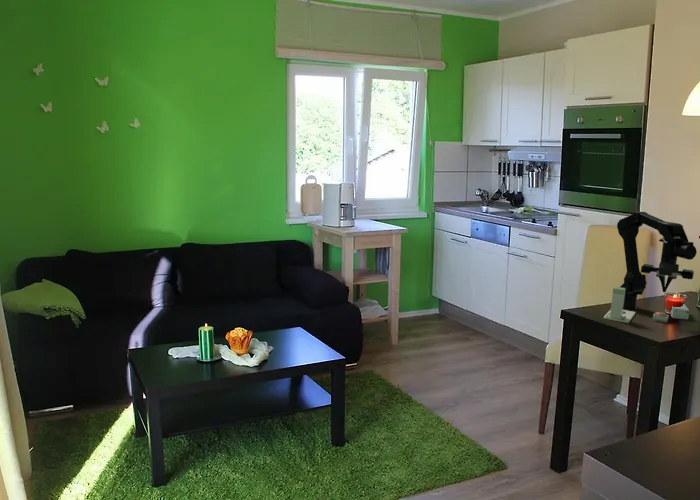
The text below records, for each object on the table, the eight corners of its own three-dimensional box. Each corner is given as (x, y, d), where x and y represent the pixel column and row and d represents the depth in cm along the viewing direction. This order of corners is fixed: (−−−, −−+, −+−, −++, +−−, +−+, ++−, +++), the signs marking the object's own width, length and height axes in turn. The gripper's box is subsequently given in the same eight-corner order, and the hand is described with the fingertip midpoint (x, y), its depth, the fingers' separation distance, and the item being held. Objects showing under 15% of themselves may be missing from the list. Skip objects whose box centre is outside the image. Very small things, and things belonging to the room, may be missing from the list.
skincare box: (667, 310, 268) (671, 318, 257) (668, 300, 268) (673, 308, 256) (682, 312, 267) (688, 320, 255) (684, 302, 266) (689, 310, 254)
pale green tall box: (611, 314, 256) (615, 286, 254) (621, 316, 254) (625, 288, 252) (609, 316, 253) (613, 288, 251) (620, 318, 251) (623, 290, 248)
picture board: (611, 309, 267) (611, 307, 267) (635, 313, 262) (635, 311, 262) (603, 318, 252) (603, 316, 252) (628, 323, 247) (628, 321, 247)
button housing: (654, 317, 257) (654, 312, 256) (667, 320, 254) (668, 314, 254) (652, 320, 253) (653, 315, 252) (666, 323, 250) (667, 317, 249)
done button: (656, 315, 256) (656, 311, 255) (665, 317, 254) (666, 312, 253) (655, 317, 253) (655, 313, 252) (664, 319, 251) (665, 315, 250)
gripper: (641, 254, 246) (636, 292, 249) (694, 261, 236) (688, 300, 239) (645, 250, 255) (640, 286, 258) (696, 256, 246) (690, 294, 249)
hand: (664, 292), depth 251 cm, fingers closed
